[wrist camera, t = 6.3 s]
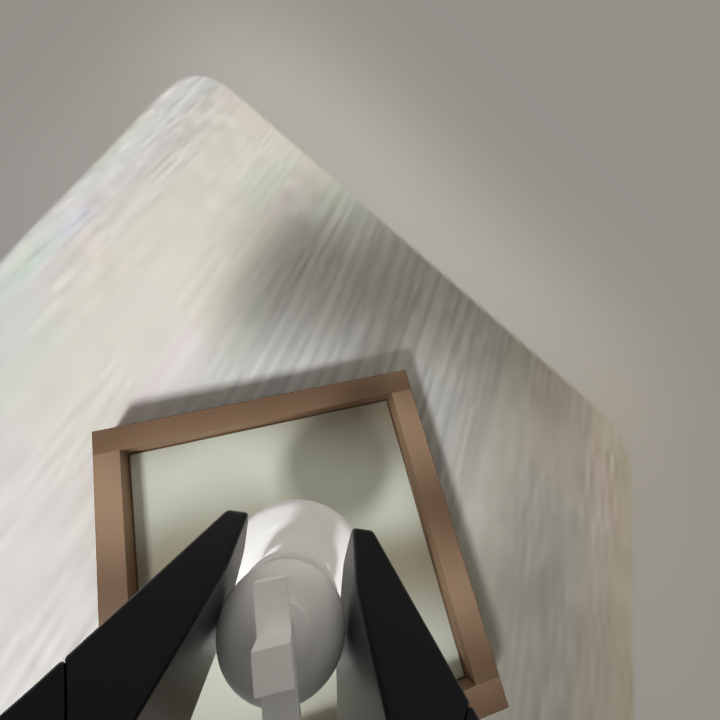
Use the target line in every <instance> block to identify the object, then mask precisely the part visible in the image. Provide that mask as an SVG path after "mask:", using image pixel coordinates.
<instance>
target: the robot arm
mask: <svg viewBox="0 0 720 720" xmlns="http://www.w3.org/2000/svg"><path fill="white" fill-rule="evenodd" d="M247 526H248V514H247V513H246V512H241V511H234V510H228V511H226V512H224V513H223V514H222V515H221V516H220V517H219V518H218V519H217V520H216V521H214V522H213V523H212V524H211V525H210V526H209V527H208V528H207V529H206V530H205V531H203V532H202V533H201V534H200V535H199V536H198V537H197V538H196V539H195V540H194V541H193V542H191V543H190V544H189V545H188V546H187V547H186V548H185V549H184V550H183V551H182V552H180V553H179V554H178V555H177V556H176V557H175V558H174V559H173V560H172V561H171V562H169V563H168V564H167V565H166V566H165V567H164V568H163V569H162V570H161V571H160V572H159V573H157V574H156V575H155V576H154V577H153V578H152V579H151V580H150V581H149V582H148V583H146V584H145V585H144V586H143V587H142V588H141V589H140V590H139V591H138V592H137V593H136V594H134V595H133V596H132V597H131V598H130V599H129V600H128V601H127V602H126V603H125V604H123V605H122V606H121V607H120V608H119V609H118V610H117V611H116V612H115V613H114V614H112V615H111V616H110V617H109V618H108V619H107V620H106V621H105V622H104V623H103V624H102V625H100V626H99V627H98V628H97V629H96V630H95V631H94V632H93V633H92V634H91V635H89V636H88V637H87V638H86V639H85V640H84V641H83V642H82V643H81V644H80V645H78V646H77V647H76V648H75V649H74V650H73V651H72V652H71V653H70V654H69V655H68V656H67V657H66V658H65V663H64V662H60V663H58V664H57V665H56V666H55V667H54V668H53V669H52V670H51V671H50V672H49V673H47V674H46V675H45V676H44V677H43V678H42V679H41V680H40V681H39V682H38V683H37V684H35V685H34V686H33V687H32V688H31V689H30V690H29V691H28V692H26V693H25V694H24V695H23V696H22V697H21V698H20V699H18V700H17V701H16V702H15V703H14V704H13V705H12V706H10V707H9V708H8V709H7V710H6V711H5V712H4V713H2V714H1V715H0V720H191V718H192V715H193V712H194V710H195V707H196V704H197V702H198V699H199V696H200V694H201V691H202V689H203V686H204V683H205V681H206V678H207V675H208V673H209V670H210V667H211V665H212V662H213V659H214V657H215V654H216V630H217V624H218V620H219V616H220V613H221V610H222V607H223V605H224V603H225V601H226V599H227V597H228V595H229V594H230V592H231V591H232V589H233V588H234V587H235V584H236V580H237V577H238V573H239V569H240V565H241V561H242V558H243V553H244V548H245V542H246V534H247ZM340 598H341V601H342V604H343V608H344V613H345V623H346V631H345V641H344V646H343V650H342V654H341V657H340V660H339V662H338V664H337V666H336V680H337V720H480V719H479V717H478V716H477V714H476V712H475V710H474V709H473V707H469V704H470V703H469V700H468V698H467V697H466V695H465V693H464V691H463V689H462V688H461V686H460V684H459V682H458V681H457V679H456V677H455V675H454V674H453V672H452V670H451V668H450V666H449V665H448V663H447V661H446V659H445V658H444V656H443V654H442V652H441V650H440V649H439V647H438V645H437V643H436V642H435V640H434V638H433V636H432V635H431V633H430V631H429V629H428V627H427V626H426V624H425V622H424V620H423V619H422V617H421V615H420V613H419V612H418V610H417V608H416V606H415V604H414V603H413V601H412V599H411V597H410V596H409V594H408V592H407V590H406V589H405V587H404V585H403V583H402V581H401V580H400V578H399V576H398V574H397V573H396V571H395V569H394V567H393V565H392V564H391V562H390V560H389V558H388V557H387V555H386V553H385V551H384V550H383V548H382V546H381V544H380V542H379V541H378V539H377V537H376V535H375V534H374V532H373V531H371V530H365V529H359V528H354V529H353V530H352V531H351V534H350V538H349V542H348V546H347V551H346V555H345V559H344V564H343V573H342V585H341V597H340Z"/></svg>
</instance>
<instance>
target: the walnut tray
mask: <svg viewBox="0 0 720 720" xmlns="http://www.w3.org/2000/svg"><path fill="white" fill-rule="evenodd" d="M92 445H93V473H94V502H95V530H96V558H97V586H98V614H99V626H100V625H102V624H103V623H104V622H105V621H106V620H107V619H108V618H109V617H110V616H111V615H112V614H114V613H115V612H116V611H117V610H118V609H119V608H120V607H121V606H122V605H123V604H125V603H126V602H127V601H128V600H129V599H130V598H131V597H132V596H133V595H134V594H136V593H137V592H138V591H139V590H140V589H141V588H142V587H143V586H144V585H145V584H146V583H148V582H149V581H150V580H151V579H152V578H153V577H154V576H155V575H156V574H157V573H159V572H160V571H161V570H162V569H163V568H164V567H165V566H166V565H167V564H168V563H169V562H171V561H172V560H173V559H174V558H175V557H176V556H177V555H178V554H179V553H180V552H182V551H183V550H184V549H185V548H186V547H187V546H188V545H189V544H190V543H191V542H193V541H194V540H195V539H196V538H197V537H198V536H199V535H200V534H201V533H202V532H203V531H205V530H206V529H207V528H208V527H209V526H210V525H211V524H212V523H213V522H214V521H216V520H217V519H218V518H219V517H220V516H221V515H222V514H223V513H224V512H226V511H228V510H234V511H241V512H246V513H247V514H248V518H249V517H251V516H252V515H253V514H255V513H256V512H258V511H259V510H261V509H263V508H264V507H266V506H269V505H271V504H274V503H277V502H280V501H285V500H294V499H301V500H309V501H314V502H317V503H320V504H323V505H325V506H327V507H329V508H331V509H332V510H334V511H335V512H337V513H338V514H339V515H341V516H342V517H343V518H344V519H345V520H346V521H347V522H348V523H349V525H350V526H351V527H352V529H354V528H359V529H365V530H371V531H373V532H374V534H375V535H376V537H377V539H378V541H379V542H380V544H381V546H382V548H383V550H384V551H385V553H386V555H387V557H388V558H389V560H390V562H391V564H392V565H393V567H394V569H395V571H396V573H397V574H398V576H399V578H400V580H401V581H402V583H403V585H404V587H405V589H406V590H407V592H408V594H409V596H410V597H411V599H412V601H413V603H414V604H415V606H416V608H417V610H418V612H419V613H420V615H421V617H422V619H423V620H424V622H425V624H426V626H427V627H428V629H429V631H430V633H431V635H432V636H433V638H434V640H435V642H436V643H437V645H438V647H439V649H440V650H441V652H442V654H443V656H444V658H445V659H446V661H447V663H448V665H449V666H450V668H451V670H452V672H453V674H454V675H455V677H456V679H457V681H458V682H459V684H460V686H461V688H462V689H463V691H464V693H465V695H466V697H467V698H468V700H469V703H470V704H469V707H473V709H474V710H475V712H476V714H477V716H478V717H479V719H481V718H484V717H486V716H488V715H491V714H493V713H496V712H498V711H500V710H503V709H505V708H508V703H507V700H506V697H505V694H504V690H503V687H502V684H501V681H500V677H499V674H498V671H497V668H496V664H495V661H494V658H493V655H492V651H491V648H490V645H489V642H488V638H487V635H486V632H485V629H484V625H483V622H482V619H481V615H480V612H479V609H478V606H477V602H476V599H475V596H474V593H473V589H472V586H471V583H470V580H469V576H468V573H467V570H466V567H465V563H464V560H463V557H462V554H461V550H460V547H459V544H458V541H457V537H456V534H455V531H454V528H453V524H452V521H451V518H450V515H449V511H448V508H447V505H446V502H445V498H444V495H443V492H442V489H441V485H440V482H439V479H438V476H437V472H436V469H435V466H434V463H433V459H432V456H431V453H430V450H429V446H428V443H427V440H426V437H425V433H424V430H423V427H422V424H421V420H420V417H419V414H418V410H417V407H416V404H415V401H414V397H413V394H412V391H411V388H410V384H409V381H408V378H407V375H406V371H405V370H403V371H398V372H393V373H388V374H382V375H377V376H372V377H367V378H362V379H357V380H352V381H347V382H342V383H337V384H332V385H327V386H322V387H317V388H312V389H307V390H302V391H296V392H291V393H286V394H281V395H276V396H271V397H266V398H261V399H256V400H251V401H246V402H241V403H236V404H231V405H226V406H221V407H215V408H210V409H205V410H200V411H195V412H190V413H185V414H180V415H175V416H170V417H165V418H160V419H155V420H150V421H145V422H140V423H134V424H129V425H124V426H119V427H114V428H109V429H104V430H99V431H94V432H92ZM300 709H301V720H337V680H336V668H335V670H334V672H333V674H332V675H331V677H330V678H329V680H328V681H327V682H326V683H325V685H324V686H323V687H322V688H321V689H320V690H319V691H318V692H317V693H316V694H314V695H313V696H312V697H310V698H309V699H308V700H306V701H304V702H302V703H300ZM191 720H262V708H260V707H257V706H254V705H252V704H250V703H248V702H246V701H245V700H243V699H242V698H240V697H239V696H238V695H237V694H236V693H235V692H234V691H233V690H232V689H231V687H230V686H229V685H228V683H227V682H226V680H225V678H224V676H223V674H222V672H221V669H220V666H219V663H218V658H217V653H216V654H215V657H214V659H213V662H212V665H211V667H210V670H209V673H208V675H207V678H206V681H205V683H204V686H203V689H202V691H201V694H200V696H199V699H198V702H197V704H196V707H195V710H194V712H193V715H192V718H191Z"/></svg>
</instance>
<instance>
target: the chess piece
mask: <svg viewBox="0 0 720 720" xmlns="http://www.w3.org/2000/svg"><path fill="white" fill-rule="evenodd" d="M352 530H353V529H352V527H351V526H350V525H349V523H348V522H347V521H346V520H345V519H344V518H343V517H342V516H341V515H339V514H338V513H337V512H335V511H334V510H332V509H331V508H329V507H327V506H325V505H323V504H320V503H317V502H314V501H309V500H301V499H294V500H285V501H280V502H277V503H274V504H271V505H269V506H266V507H264V508H263V509H261V510H259V511H258V512H256V513H255V514H253V515H252V516H251V517H249V518H248V526H247V534H246V542H245V548H244V553H243V558H242V561H241V565H240V569H239V573H238V577H237V580H236V584H235V587H234V588H233V589H232V591H231V592H230V594H229V595H228V597H227V599H226V601H225V603H224V605H223V607H222V610H221V613H220V616H219V620H218V624H217V630H216V653H217V658H218V663H219V666H220V669H221V672H222V674H223V676H224V678H225V680H226V682H227V683H228V685H229V686H230V687H231V689H232V690H233V691H234V692H235V693H236V694H237V695H238V696H239V697H240V698H242V699H243V700H245V701H246V702H248V703H250V704H252V705H254V706H257V707H260V708H262V720H301V709H300V703H302V702H304V701H306V700H308V699H309V698H310V697H312V696H313V695H314V694H316V693H317V692H318V691H319V690H320V689H321V688H322V687H323V686H324V685H325V683H326V682H327V681H328V680H329V678H330V677H331V675H332V674H333V672H334V670H335V668H336V666H337V664H338V662H339V660H340V657H341V654H342V650H343V646H344V641H345V631H346V623H345V613H344V608H343V604H342V601H341V598H340V597H341V585H342V573H343V564H344V559H345V555H346V551H347V546H348V542H349V538H350V534H351V531H352Z"/></svg>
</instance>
